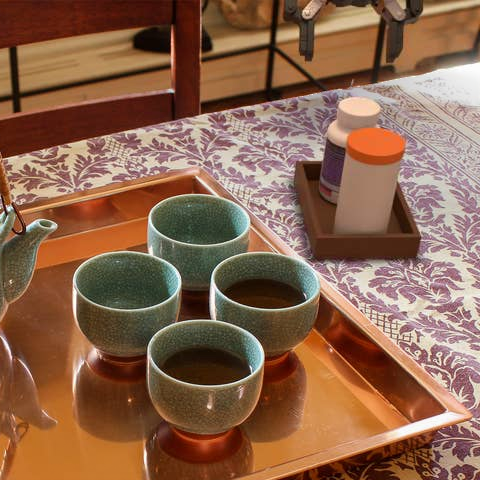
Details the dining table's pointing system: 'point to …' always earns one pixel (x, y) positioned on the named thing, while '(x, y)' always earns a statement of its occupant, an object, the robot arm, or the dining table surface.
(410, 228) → the tray
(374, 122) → the pill bottle
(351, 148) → the orange-capped white bottle
